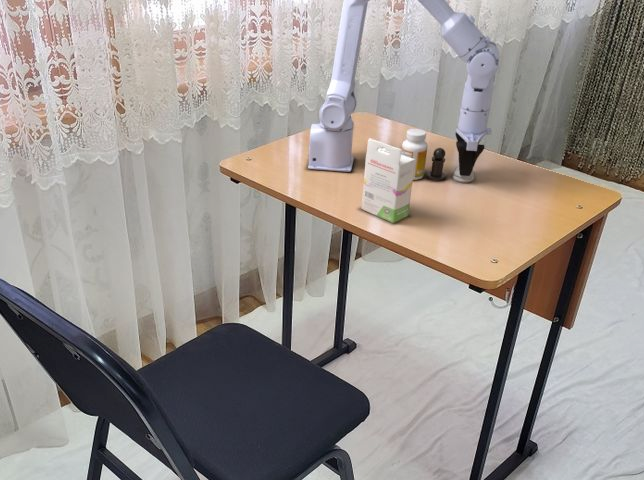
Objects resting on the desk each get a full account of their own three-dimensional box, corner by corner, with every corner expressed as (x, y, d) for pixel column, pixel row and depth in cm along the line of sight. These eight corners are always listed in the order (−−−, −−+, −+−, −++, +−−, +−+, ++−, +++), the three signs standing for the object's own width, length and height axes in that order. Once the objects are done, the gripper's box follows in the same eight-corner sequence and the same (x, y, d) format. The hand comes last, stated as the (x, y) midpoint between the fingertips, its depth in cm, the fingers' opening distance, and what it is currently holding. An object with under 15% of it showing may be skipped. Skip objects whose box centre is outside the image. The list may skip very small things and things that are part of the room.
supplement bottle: (422, 170, 161) (428, 127, 156) (424, 181, 157) (430, 137, 151) (397, 170, 162) (402, 126, 156) (399, 180, 158) (404, 136, 152)
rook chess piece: (474, 176, 159) (481, 140, 154) (472, 184, 156) (479, 148, 151) (453, 173, 160) (459, 138, 155) (451, 181, 157) (457, 145, 152)
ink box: (409, 216, 144) (419, 143, 135) (393, 224, 141) (402, 150, 132) (376, 201, 149) (383, 130, 140) (359, 209, 146) (366, 137, 138)
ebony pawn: (426, 180, 157) (430, 151, 153) (426, 172, 160) (430, 144, 157) (445, 181, 157) (450, 152, 153) (445, 174, 160) (449, 145, 156)
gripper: (498, 121, 142) (485, 186, 150) (493, 96, 153) (481, 158, 162) (461, 118, 143) (450, 183, 151) (459, 94, 155) (449, 156, 163)
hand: (464, 170), depth 157 cm, fingers open, 4 cm apart
